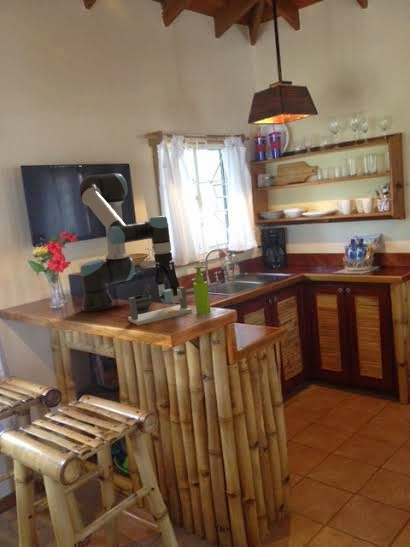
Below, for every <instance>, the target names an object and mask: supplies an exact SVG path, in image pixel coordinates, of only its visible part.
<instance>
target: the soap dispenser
mask: <svg viewBox="0 0 410 547" xmlns="http://www.w3.org/2000/svg"><path fill="white" fill-rule="evenodd" d="M207 268H208V266H206V265H205V266H204V265H198V266H195V267H194V269H195V270H196V274H195V275H194V276H195V277H194V278H195V282H193V284H192V286H193V293H194V300H195V302H194V303H195V310H196V315H198V314H205V315H208V314H207V313H209V314H211V313H212V311H211V304H210V302H211V301H210V297H209V296H210V295H209V288H208V282H207V281H205V278H204V274H203V273H202V272H201V271H202V270H201V269H207ZM194 269H193V270H194ZM210 312H211V313H210Z"/></svg>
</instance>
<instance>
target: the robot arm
mask: <svg viewBox="0 0 410 547" xmlns="http://www.w3.org/2000/svg"><path fill="white" fill-rule="evenodd" d="M128 192H129V190H128V184H127V181H126V178H124V176H123V175H122V174H120V173H117V172H116V173H104V174H103V173H102V174H101V173H100V174H91V175H88V176H86V177H84V178H83V179H82V180H81V182H80V183H79V187H78V197H79V199H80V201H81V202H82V203H83V204H84V205H85V206H88V207H89V208H90V210H91V211H92V212H93V214H94V215H95V216H96V217H97V218H98V220H99V221H100V223H102V225H103V226H104V227H105V233H106V243H107V252H108V253H107V255H106V256H105V260H104V259H96V260H91V261H88V262H86V263H83V264H82V265H81V266H80V268H79V269H80V277H81V283H82V289H83V301H82V311H83V312H87V313H88V312H89V313H91V312H99V311H100V310H101V311H105V310H108V309H109V310H110V309H111V308H113V307H115V305H114V304H115V303H114V300H113V298H112V296H111V294H110V293H109V288H108V285H113V284H118V283H121V282H122V283H125V282H126V281H130V280H132V278H133V277H134V275H135V270H136V267H135V262H134V259H133V258H132V257H130V255H129V253H128V252H127V251H126V243H131V242H138V241H143V240H151V241H152V246H151V248H152V250H153V253H154V255H153V256H154V262H155V282H154V283H156V285H157V287H158V294H159V296H161V293H160V291H161V290H166V288H165V287H166V286H165V277H166V279H167V281H168V284H169V286H170V287H169V289H171V297H172V302H171V304H173V305H174V304H178V303H179V304H180V300H179V299H178V291H177V289H178V287H180V283H179V281H178V277H177V274H176V271H175V267H174V266H175V265H174V264H173V263H172V264H171V263H170V262H172V261H173V253H172V252H171V251H172V245H171V239H170V238H171V237H170V230H169V223H168V218H167V216H166V215H158V216H152V217H150V218H149V221H141V222H136V223H130V224H126V223H125V222H124V221H123V220H124V219H123V210H122V204H123V203H124V201H125V198H124V197H126V196H127V195H128ZM159 296H158V297H159ZM159 300H161V299H159ZM161 301H162V300H161Z"/></svg>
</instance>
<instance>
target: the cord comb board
mask: <svg viewBox="0 0 410 547" xmlns="http://www.w3.org/2000/svg"><path fill="white" fill-rule="evenodd" d="M177 291H178V299H179V305H174V306H170V307H165V308H161V309H156V310H153V311H149V312H146V313H141V314H138V313H137V306H136V304H140V303H145V302H150V301H152V302H153V301H159V300H160V299H163V298H164V296H155V297H152V298H150V299H145V300H141V301H136V299H135V298H134V297H135V296H132V297H131V296H130V297H128V298H127V299H128V305H129V310H130V311H129V312H130V316H128V317H127V321H129V322H130V323H133V324H135V325H137V326H141V325H145V324H150V323H153V322H158V321H161V320H165V319H170V318H175V317H178V316H182V315H186V314H191V313H193V309H192V308H191V307H188V303H187V295H186V287H185V286H179V287H177Z"/></svg>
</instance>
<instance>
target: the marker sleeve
mask: <svg viewBox="0 0 410 547" xmlns="http://www.w3.org/2000/svg"><path fill="white" fill-rule="evenodd" d="M160 293H161V296H164V298H163V299H161V303H163V304H170V303H171V304H172V297H171V289H170V288H167V289H166V288H165V290H161V291H160Z"/></svg>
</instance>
